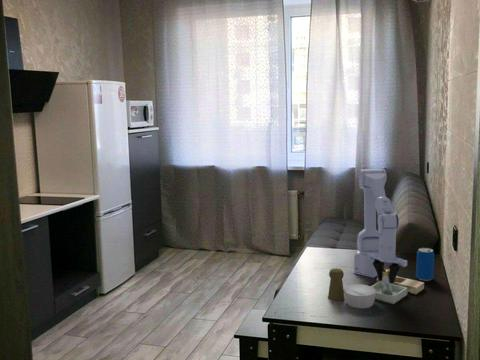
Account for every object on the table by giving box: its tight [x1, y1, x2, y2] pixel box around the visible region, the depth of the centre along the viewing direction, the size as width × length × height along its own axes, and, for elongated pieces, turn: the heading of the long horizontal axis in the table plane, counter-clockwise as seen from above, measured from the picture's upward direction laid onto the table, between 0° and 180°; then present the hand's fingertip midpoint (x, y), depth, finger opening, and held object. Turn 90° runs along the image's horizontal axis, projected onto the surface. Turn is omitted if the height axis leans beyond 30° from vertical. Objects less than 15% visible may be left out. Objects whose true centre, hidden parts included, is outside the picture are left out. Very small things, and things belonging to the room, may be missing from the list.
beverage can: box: [415, 247, 435, 282], centre depth 205 cm, size 6×6×12 cm
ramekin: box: [343, 283, 376, 309], centre depth 183 cm, size 11×11×5 cm
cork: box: [327, 268, 346, 302], centre depth 188 cm, size 6×6×11 cm
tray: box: [370, 281, 408, 305], centre depth 190 cm, size 11×11×3 cm
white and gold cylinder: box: [381, 268, 393, 295], centre depth 189 cm, size 4×4×8 cm
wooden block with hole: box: [376, 275, 425, 295], centre depth 198 cm, size 16×7×2 cm, turn 48°
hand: (386, 281), depth 189 cm, fingers closed on white and gold cylinder, 4 cm apart
